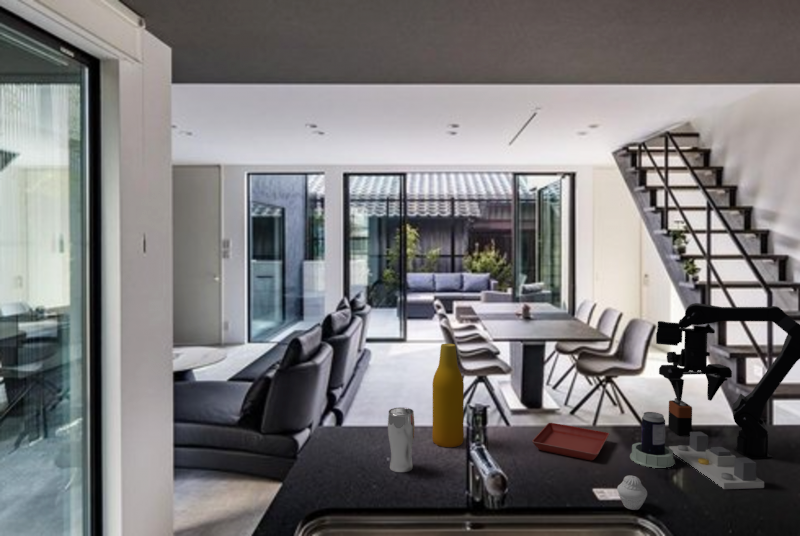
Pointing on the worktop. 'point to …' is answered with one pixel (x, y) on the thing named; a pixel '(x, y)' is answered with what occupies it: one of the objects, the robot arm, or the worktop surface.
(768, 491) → the worktop surface
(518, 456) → the worktop surface
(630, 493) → the lidded jar
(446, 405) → the beer bottle
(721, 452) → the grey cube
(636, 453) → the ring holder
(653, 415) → the beverage can
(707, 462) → the switch panel
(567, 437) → the plant saucer
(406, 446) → the beer glass
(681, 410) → the battery
